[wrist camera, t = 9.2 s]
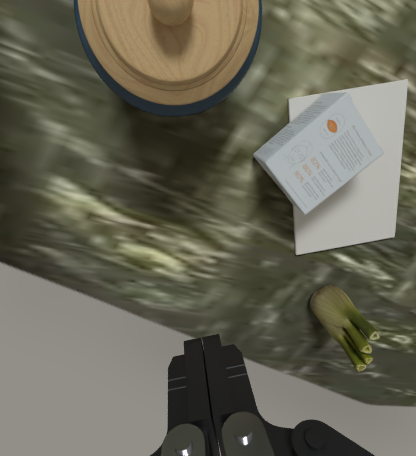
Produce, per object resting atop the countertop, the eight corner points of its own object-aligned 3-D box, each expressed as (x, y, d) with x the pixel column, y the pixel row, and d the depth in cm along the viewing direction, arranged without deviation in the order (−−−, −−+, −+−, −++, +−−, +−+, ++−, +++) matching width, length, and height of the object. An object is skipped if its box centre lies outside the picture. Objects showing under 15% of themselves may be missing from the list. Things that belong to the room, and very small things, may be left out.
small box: (288, 202, 40) (358, 146, 38) (305, 216, 35) (386, 153, 33) (251, 153, 38) (324, 91, 36) (263, 161, 32) (349, 90, 31)
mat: (287, 98, 36) (288, 98, 36) (405, 79, 37) (408, 79, 36) (295, 253, 44) (296, 255, 43) (392, 235, 44) (394, 237, 44)
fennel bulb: (325, 274, 45) (375, 329, 34) (348, 290, 47) (402, 348, 36) (299, 302, 47) (338, 365, 36) (321, 317, 48) (366, 381, 37)
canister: (219, 122, 36) (257, 139, 20) (102, 99, 34) (38, 96, 18) (245, -12, 32) (322, -132, 15) (113, -49, 30) (39, -232, 13)
